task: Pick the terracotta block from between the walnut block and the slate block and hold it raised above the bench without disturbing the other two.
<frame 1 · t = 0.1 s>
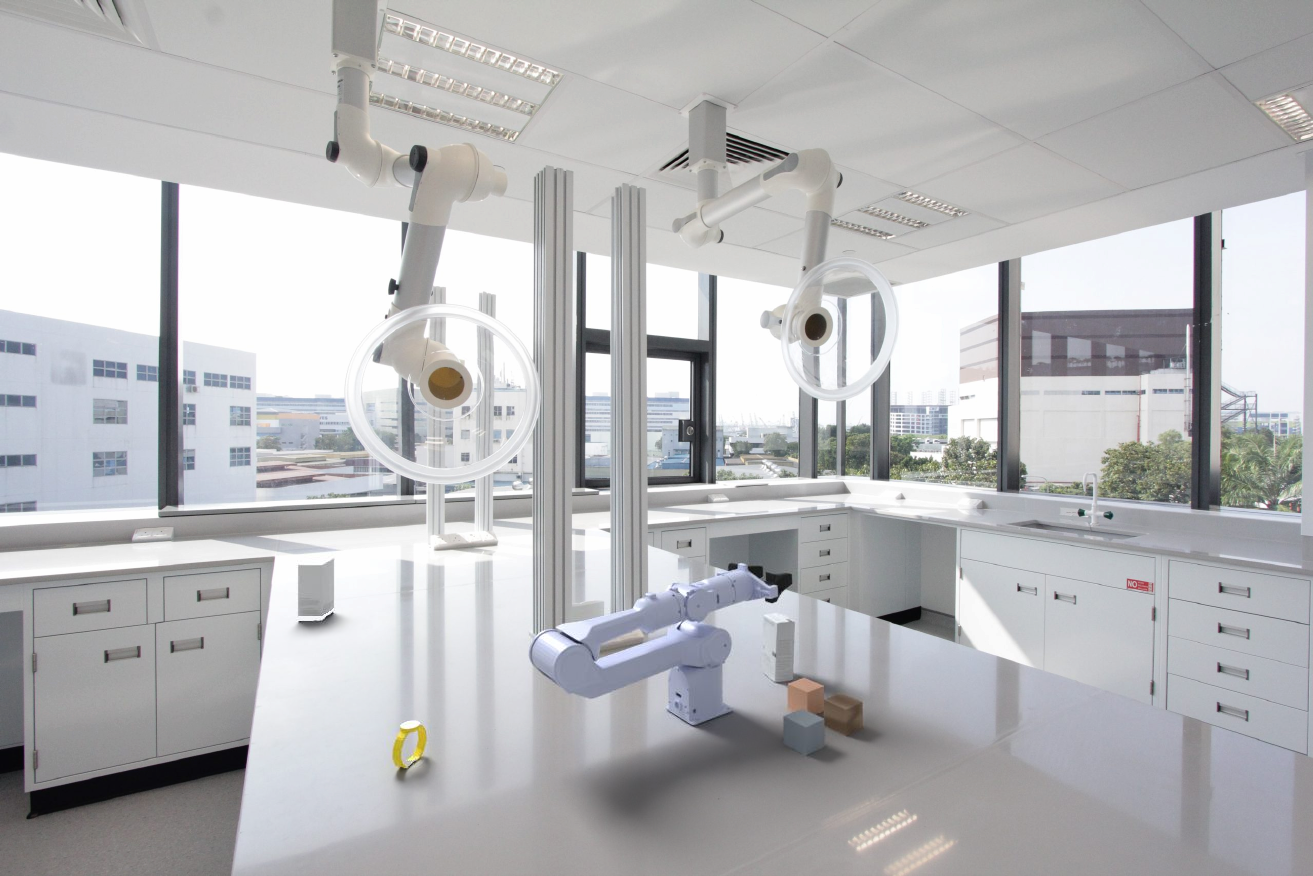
hand: (775, 574, 119), 22 cm above the countertop, tool horizontal, fingers open, 7 cm apart
slate block: (803, 745, 95), on the countertop
watch: (410, 764, 91), on the countertop
terracotta block: (805, 709, 108), on the countertop
skincare box: (317, 618, 163), on the countertop
skincare box 2: (778, 677, 122), on the countertop
walnut block: (843, 727, 101), on the countertop
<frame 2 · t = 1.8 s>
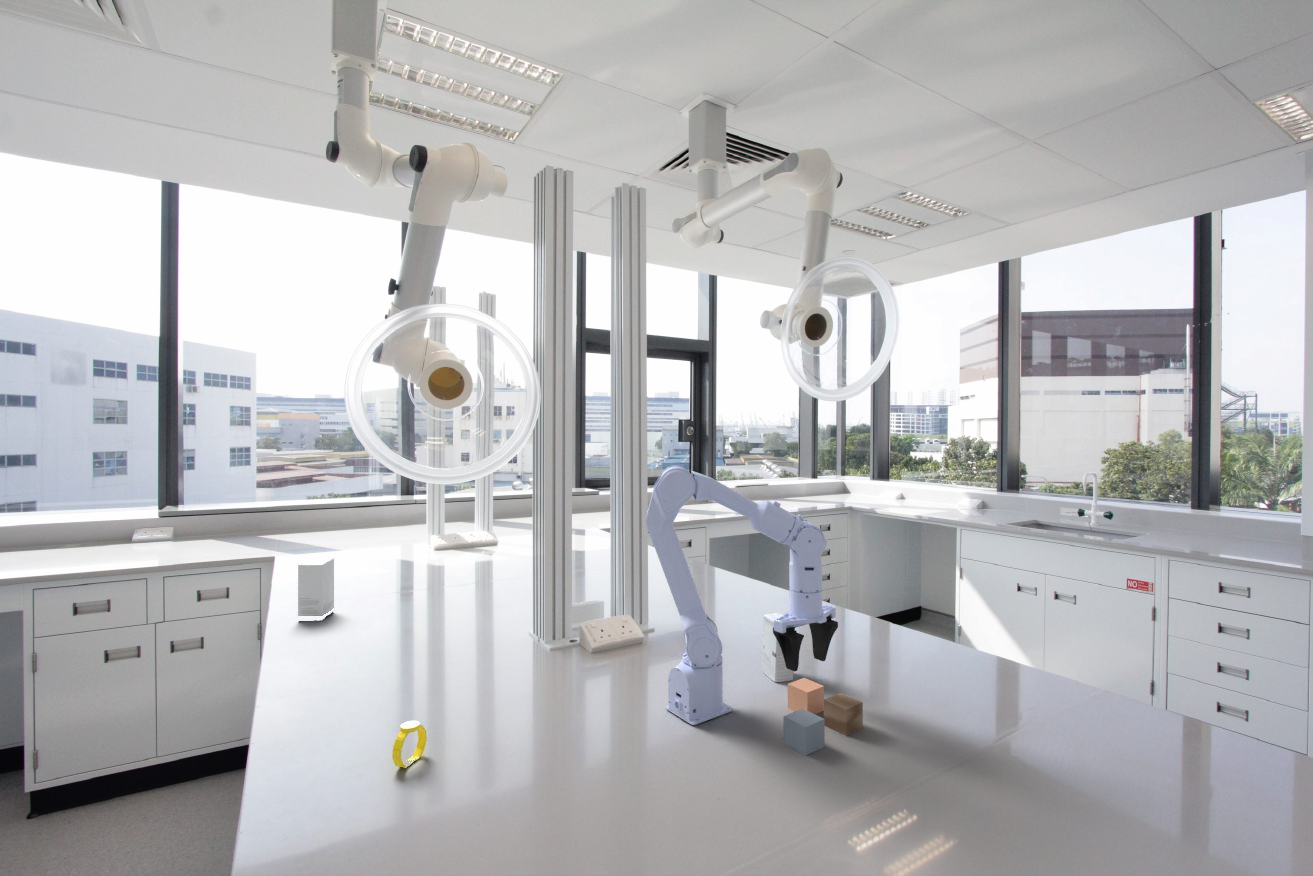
hand: (806, 664, 108), 8 cm above the countertop, tool pointing down, fingers open, 7 cm apart
nothing on the countertop moved.
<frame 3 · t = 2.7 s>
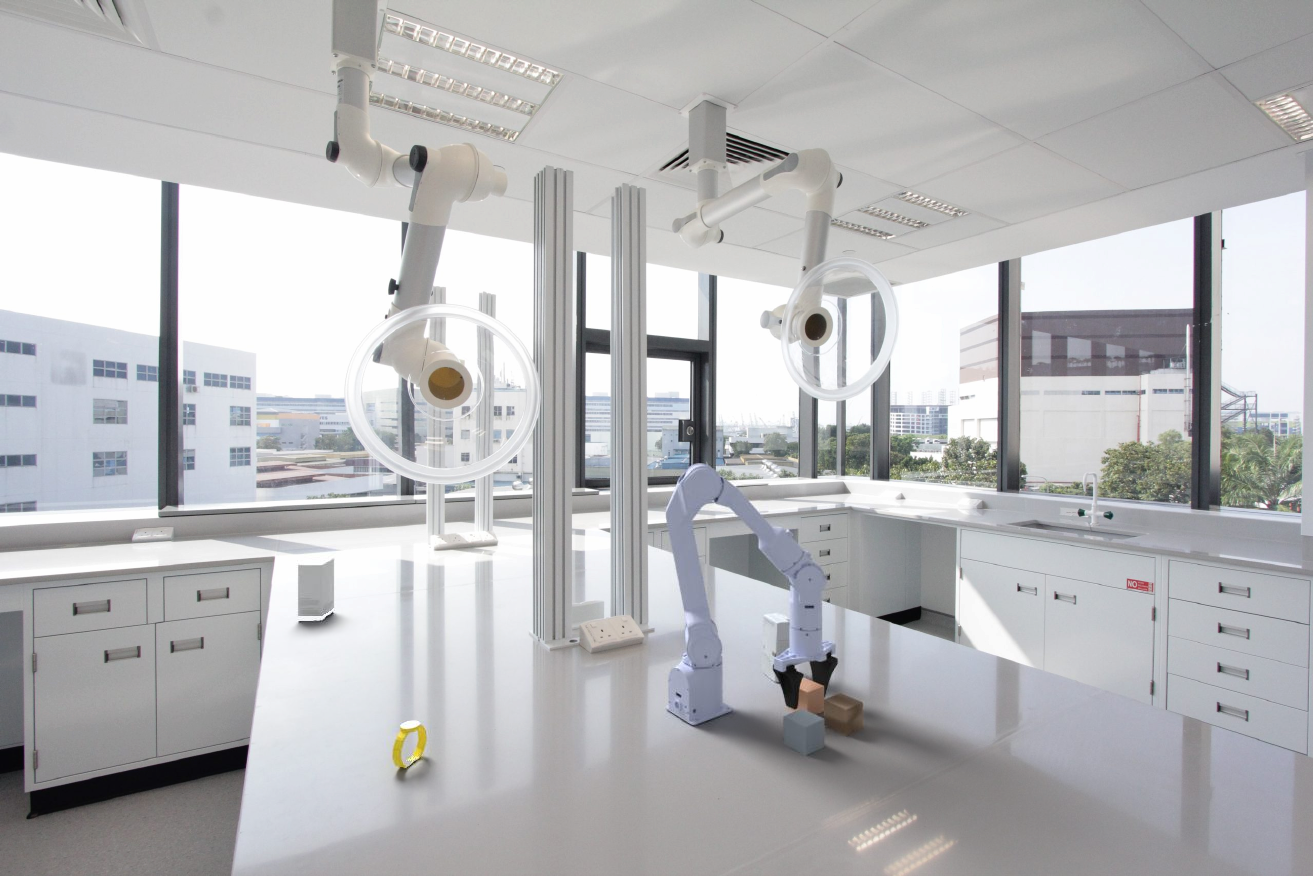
hand: (805, 701, 108), 1 cm above the countertop, tool pointing down, fingers open, 7 cm apart
nothing on the countertop moved.
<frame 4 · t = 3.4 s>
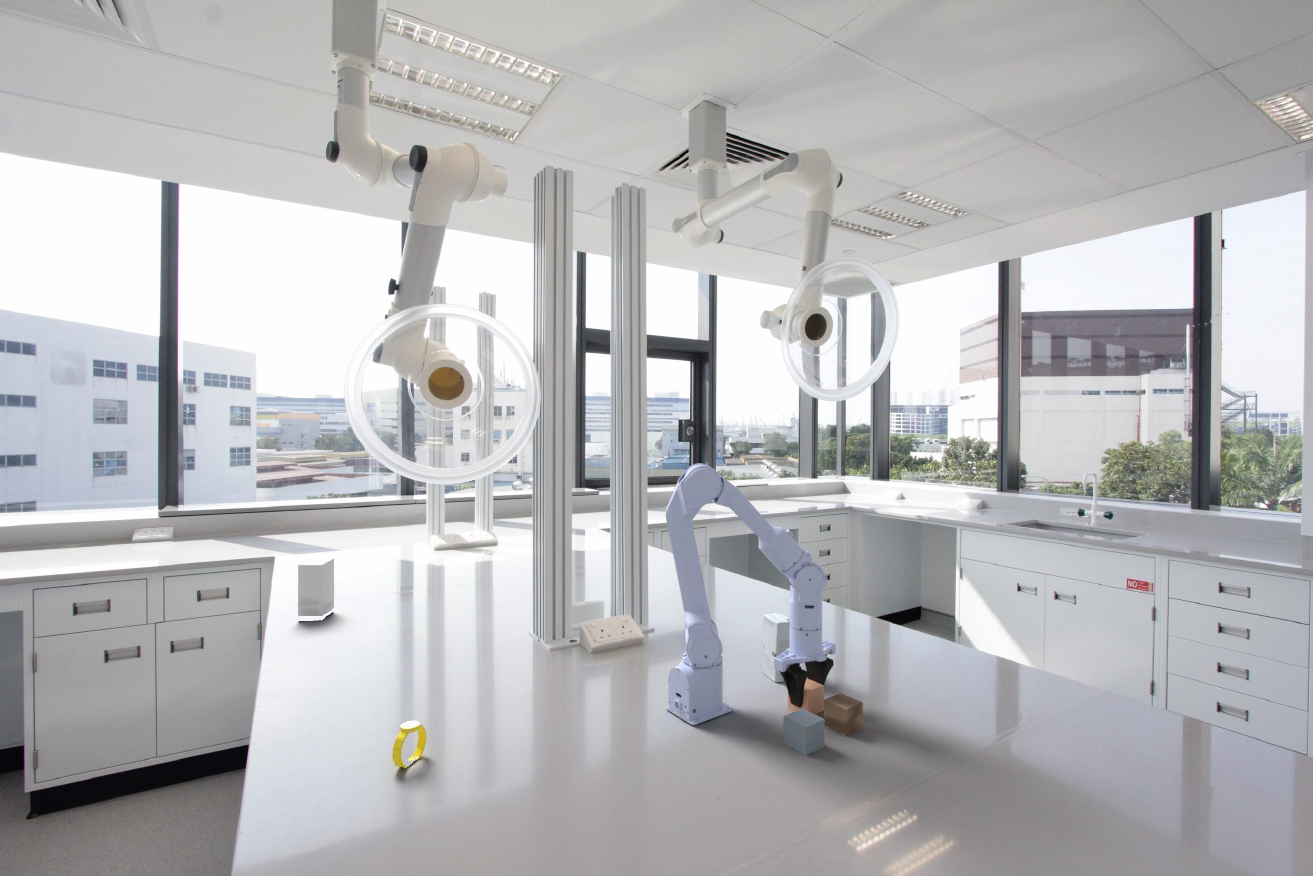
hand: (805, 701, 108), 1 cm above the countertop, tool pointing down, fingers closed on terracotta block, 4 cm apart
terracotta block: (805, 709, 108), on the countertop, touching gripper
everything else where it was.
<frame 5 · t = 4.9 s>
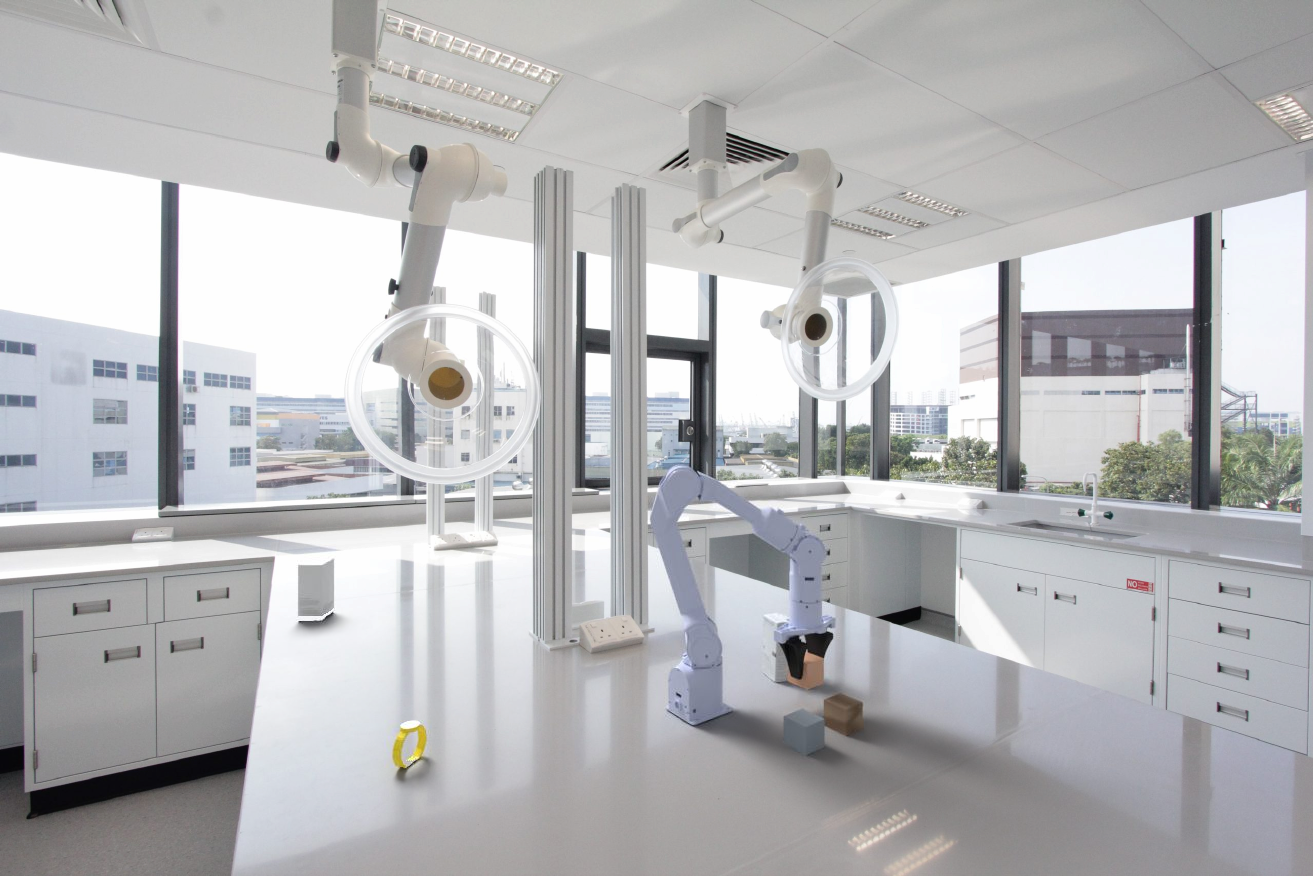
hand: (805, 674, 108), 6 cm above the countertop, tool pointing down, fingers closed on terracotta block, 4 cm apart
terracotta block: (805, 682, 108), point 5 cm above the countertop, touching gripper
everything else where it was.
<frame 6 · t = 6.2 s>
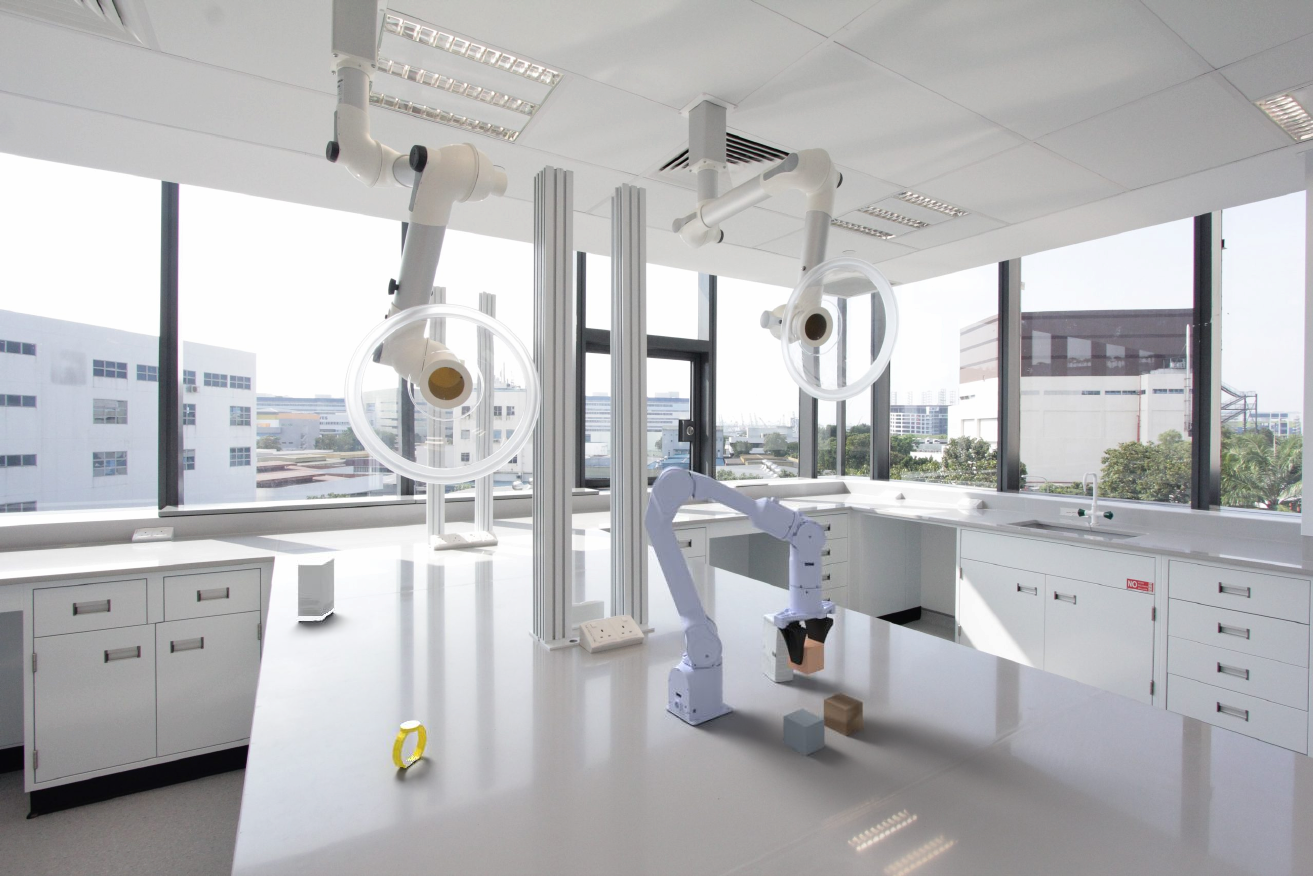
hand: (805, 659, 108), 9 cm above the countertop, tool pointing down, fingers closed on terracotta block, 4 cm apart
terracotta block: (805, 667, 108), point 7 cm above the countertop, touching gripper
everything else where it was.
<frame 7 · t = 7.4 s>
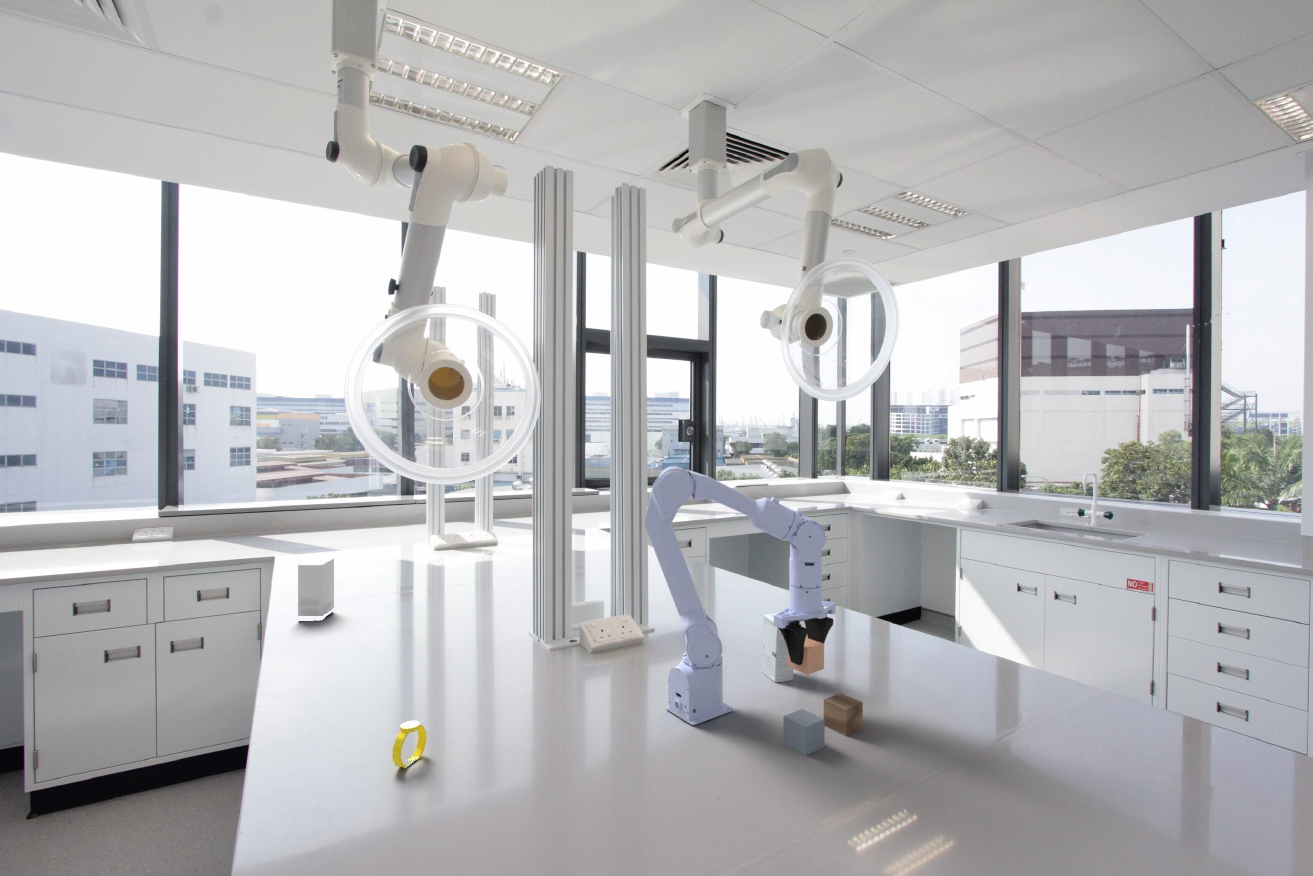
hand: (805, 659, 108), 9 cm above the countertop, tool pointing down, fingers closed on terracotta block, 4 cm apart
terracotta block: (805, 667, 108), point 7 cm above the countertop, touching gripper
everything else where it was.
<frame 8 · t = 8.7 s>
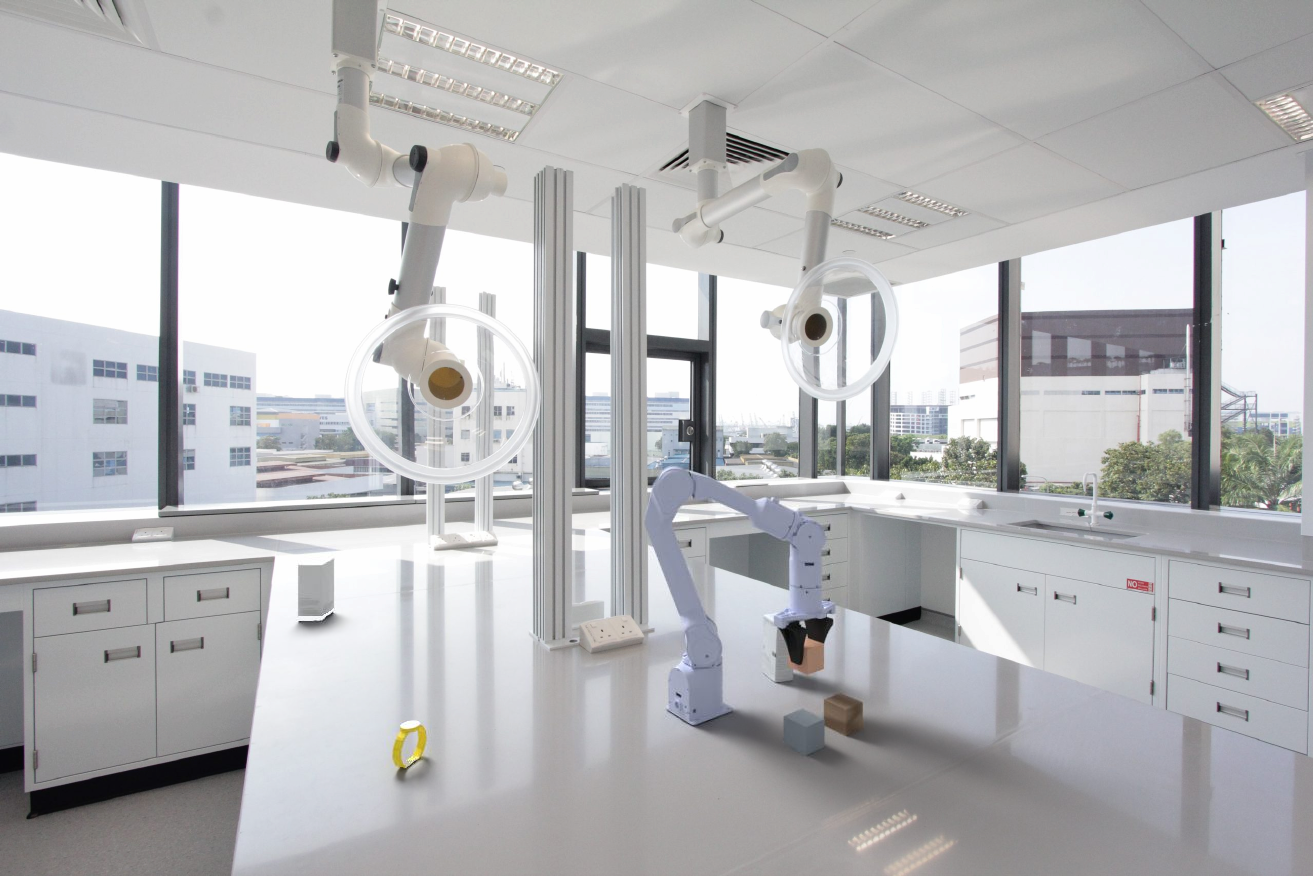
hand: (805, 659, 108), 9 cm above the countertop, tool pointing down, fingers closed on terracotta block, 4 cm apart
terracotta block: (805, 667, 108), point 7 cm above the countertop, touching gripper
everything else where it was.
at the end: terracotta block point 7.5 cm above the countertop; walnut block moved 0.1 cm from its start; slate block moved 0.1 cm from its start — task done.
